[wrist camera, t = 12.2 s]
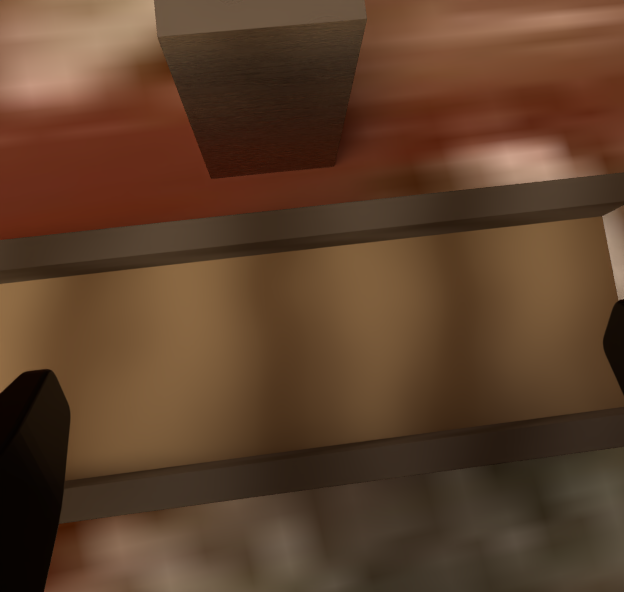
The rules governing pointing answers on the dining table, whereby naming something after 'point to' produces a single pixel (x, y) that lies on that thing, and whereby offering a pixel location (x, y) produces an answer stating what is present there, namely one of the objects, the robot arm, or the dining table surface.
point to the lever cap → (263, 78)
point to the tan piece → (320, 342)
